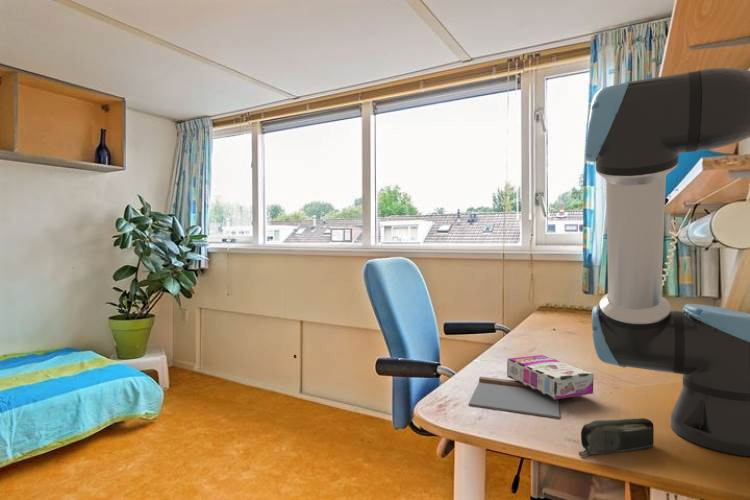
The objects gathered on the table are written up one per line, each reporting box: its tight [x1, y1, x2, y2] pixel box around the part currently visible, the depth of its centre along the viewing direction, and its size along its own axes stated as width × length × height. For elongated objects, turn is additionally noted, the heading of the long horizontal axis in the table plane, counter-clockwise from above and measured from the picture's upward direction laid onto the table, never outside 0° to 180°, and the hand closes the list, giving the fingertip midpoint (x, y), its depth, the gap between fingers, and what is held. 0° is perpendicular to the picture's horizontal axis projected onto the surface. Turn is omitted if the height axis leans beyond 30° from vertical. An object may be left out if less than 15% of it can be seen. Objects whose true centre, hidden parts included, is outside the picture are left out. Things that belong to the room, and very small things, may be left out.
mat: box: [468, 381, 560, 420], centre depth 95 cm, size 15×18×1 cm
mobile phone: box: [578, 417, 655, 457], centre depth 72 cm, size 5×3×15 cm
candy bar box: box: [506, 354, 594, 400], centre depth 100 cm, size 11×5×16 cm
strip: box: [478, 376, 530, 388], centre depth 103 cm, size 2×18×1 cm, turn 68°
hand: (637, 264), depth 109 cm, fingers closed
